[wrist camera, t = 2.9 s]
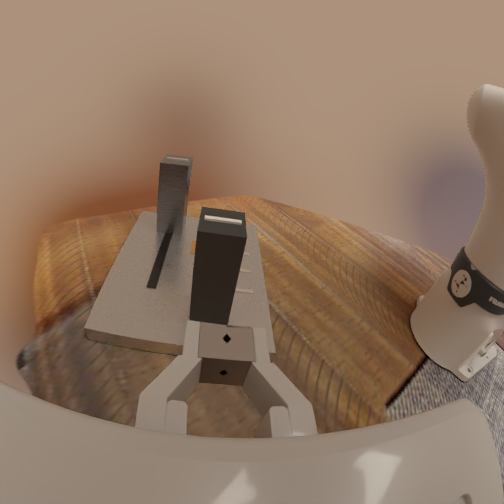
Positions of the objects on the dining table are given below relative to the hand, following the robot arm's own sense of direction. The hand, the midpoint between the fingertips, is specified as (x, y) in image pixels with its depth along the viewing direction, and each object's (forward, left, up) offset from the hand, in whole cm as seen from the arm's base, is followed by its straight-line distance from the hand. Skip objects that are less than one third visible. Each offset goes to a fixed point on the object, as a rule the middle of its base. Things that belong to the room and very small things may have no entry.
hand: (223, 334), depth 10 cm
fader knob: (0, -14, -14) cm, 20 cm away
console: (+3, -24, -16) cm, 29 cm away
